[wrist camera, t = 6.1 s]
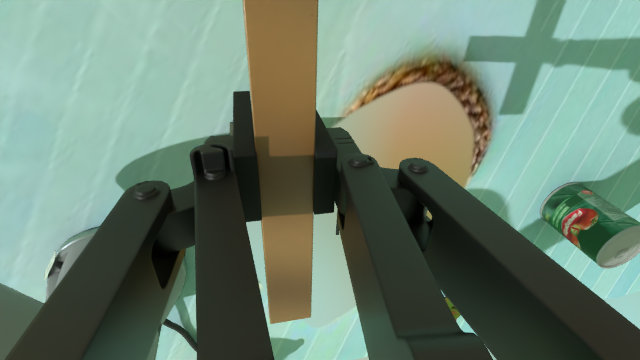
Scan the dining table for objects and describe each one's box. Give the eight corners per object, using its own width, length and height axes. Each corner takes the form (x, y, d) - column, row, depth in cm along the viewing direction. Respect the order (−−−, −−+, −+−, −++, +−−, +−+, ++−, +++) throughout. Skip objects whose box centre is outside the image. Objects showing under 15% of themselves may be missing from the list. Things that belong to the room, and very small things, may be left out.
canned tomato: (539, 195, 54) (600, 242, 45) (585, 174, 54) (656, 217, 45) (539, 227, 59) (595, 276, 50) (582, 208, 58) (646, 253, 49)
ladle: (302, 184, 26) (340, 312, 17) (237, 190, 26) (238, 330, 16) (302, -133, 16) (397, -259, 7) (194, -142, 16) (129, -304, 6)
